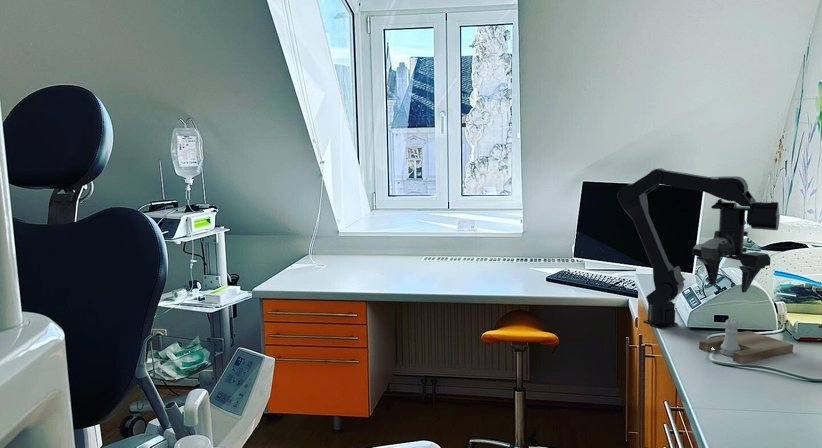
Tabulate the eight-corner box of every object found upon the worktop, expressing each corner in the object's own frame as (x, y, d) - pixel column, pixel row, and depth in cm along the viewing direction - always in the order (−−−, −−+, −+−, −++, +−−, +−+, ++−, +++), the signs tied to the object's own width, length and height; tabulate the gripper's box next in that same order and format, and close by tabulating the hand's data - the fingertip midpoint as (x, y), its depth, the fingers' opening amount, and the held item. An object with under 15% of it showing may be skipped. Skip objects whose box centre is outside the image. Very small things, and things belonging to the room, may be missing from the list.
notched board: (699, 348, 164) (699, 340, 164) (747, 338, 171) (748, 330, 171) (742, 364, 153) (742, 355, 153) (792, 352, 161) (793, 344, 160)
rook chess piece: (734, 350, 162) (736, 317, 161) (744, 356, 158) (746, 323, 157) (716, 350, 162) (718, 318, 161) (725, 357, 158) (727, 323, 157)
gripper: (678, 225, 176) (675, 284, 178) (741, 235, 159) (737, 300, 161) (709, 221, 181) (706, 279, 183) (773, 231, 164) (769, 295, 166)
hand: (728, 288), depth 173 cm, fingers open, 9 cm apart
